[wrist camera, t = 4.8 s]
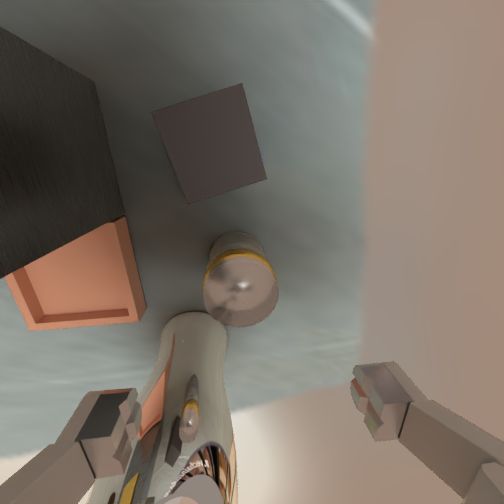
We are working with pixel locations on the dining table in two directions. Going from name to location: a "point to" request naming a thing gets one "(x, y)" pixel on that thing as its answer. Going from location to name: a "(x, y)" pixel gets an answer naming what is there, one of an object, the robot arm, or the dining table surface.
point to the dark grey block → (49, 156)
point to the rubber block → (211, 143)
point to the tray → (82, 282)
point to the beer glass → (181, 424)
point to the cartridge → (239, 281)
